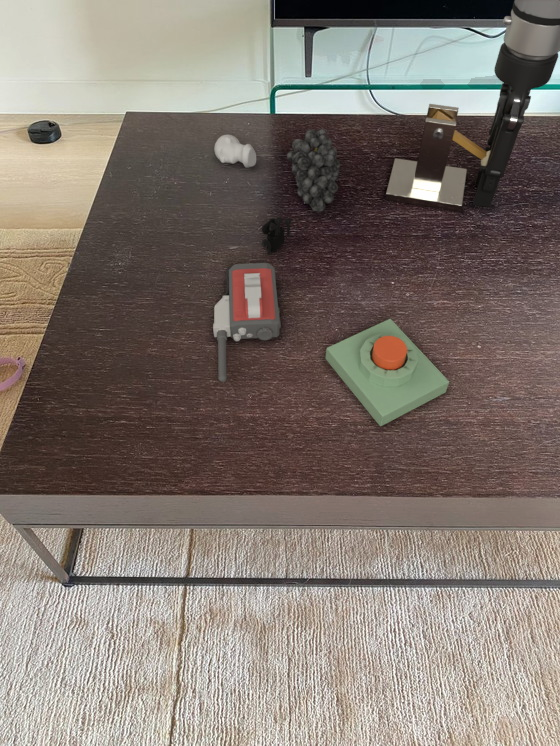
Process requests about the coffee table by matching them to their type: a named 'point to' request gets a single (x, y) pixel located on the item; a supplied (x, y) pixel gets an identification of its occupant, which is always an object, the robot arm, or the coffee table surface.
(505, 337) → the coffee table surface
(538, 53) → the robot arm
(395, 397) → the switch box
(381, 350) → the switch button
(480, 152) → the switch lever
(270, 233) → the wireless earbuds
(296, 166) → the fruit
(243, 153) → the smooth white sculpture
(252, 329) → the walkie-talkie
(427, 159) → the switch bracket
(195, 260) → the coffee table surface
